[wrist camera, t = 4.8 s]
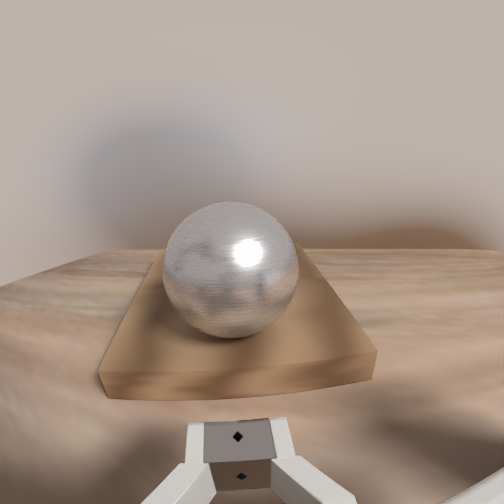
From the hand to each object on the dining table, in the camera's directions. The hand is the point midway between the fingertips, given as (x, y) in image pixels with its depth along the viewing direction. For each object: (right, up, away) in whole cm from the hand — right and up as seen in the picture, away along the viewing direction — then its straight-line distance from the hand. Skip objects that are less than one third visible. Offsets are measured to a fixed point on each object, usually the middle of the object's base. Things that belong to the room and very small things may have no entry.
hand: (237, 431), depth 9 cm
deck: (-1, 0, +22) cm, 22 cm away
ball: (-1, +4, +12) cm, 13 cm away
